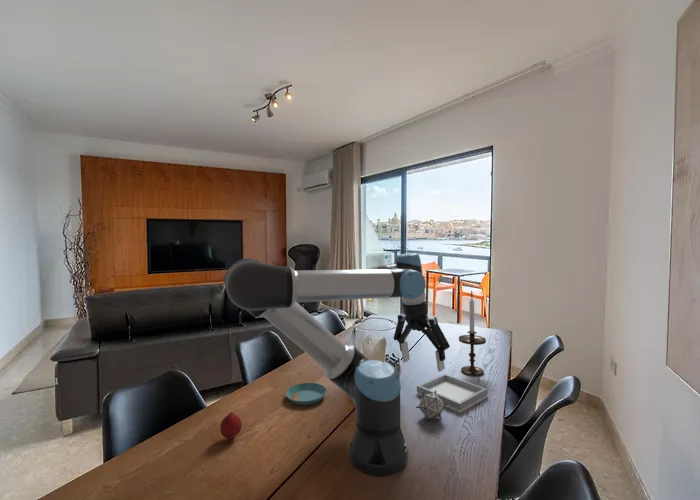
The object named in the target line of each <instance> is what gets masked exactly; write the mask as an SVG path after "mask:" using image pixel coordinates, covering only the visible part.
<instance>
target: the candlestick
mask: <svg viewBox="0 0 700 500" xmlns="http://www.w3.org/2000/svg"><path fill="white" fill-rule="evenodd" d="M473 293H474V292H473V291H472V289H471V291H470V300H469V330H468V331H467V334H464V335H459V336H458V341H459V343H462V344H466V345H469V346H470V352H469V353H468V356H469V359H468V361H469V362H470V365H469V366H468V365H467V366H462V367H461V368H460V372H461V373H462V374H463V375H465V376H468V377H482V376H484V374H485V371H484V370H483V369H482V368H481V367H477V366H475V362H476V359H475V358H476V353H475V349H474V348H475V346H476V345H477V346H478V345H484V344H486V343H487V339H486V338H485V337H482V336H481V335H475V334H477V333H478V332H476V331H475V300H474V298H473V296H474V295H473Z"/></svg>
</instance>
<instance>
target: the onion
mask: <svg viewBox="0 0 700 500" xmlns="http://www.w3.org/2000/svg"><path fill="white" fill-rule="evenodd" d="M234 412H235V411H233V410H231V411H229V413H228V414H227V415H226V416H224V418H223V419H222V420H221V422H220V426H219V431H220V434H221V435H222V436H223V438H226V439H229V440H233V439H234V438H235V437H237V436H238V435H239V434H240V432H241V430H242V426H243V423H242V420H241V418H240V417H239V416H238V415H237V414H235V413H234ZM232 438H233V439H232Z"/></svg>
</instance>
